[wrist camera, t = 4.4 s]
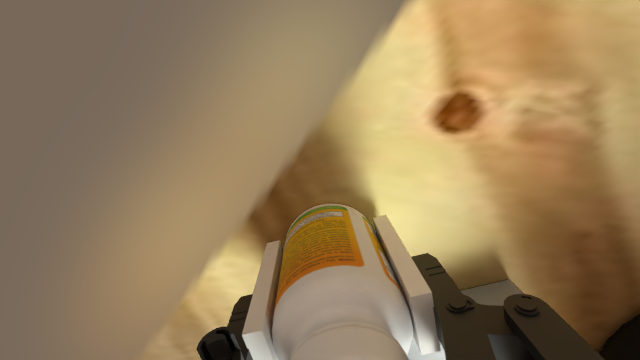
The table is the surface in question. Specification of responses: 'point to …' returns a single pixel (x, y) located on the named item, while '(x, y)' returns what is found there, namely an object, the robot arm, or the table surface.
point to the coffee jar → (624, 342)
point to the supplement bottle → (338, 292)
